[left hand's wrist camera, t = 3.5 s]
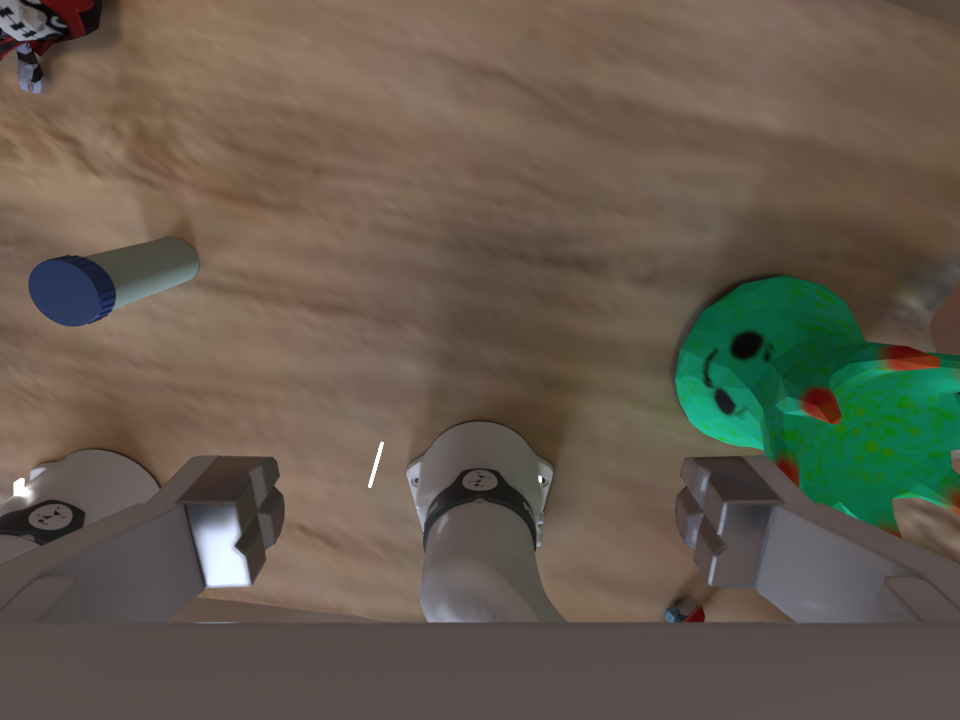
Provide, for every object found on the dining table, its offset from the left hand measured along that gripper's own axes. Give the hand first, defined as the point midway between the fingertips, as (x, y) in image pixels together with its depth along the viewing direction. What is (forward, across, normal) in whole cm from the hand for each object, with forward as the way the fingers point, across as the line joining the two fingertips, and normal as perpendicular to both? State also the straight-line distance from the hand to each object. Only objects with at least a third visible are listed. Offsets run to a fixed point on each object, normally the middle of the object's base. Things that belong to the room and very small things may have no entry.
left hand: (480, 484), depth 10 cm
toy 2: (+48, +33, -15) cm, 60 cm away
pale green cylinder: (+48, -34, -4) cm, 59 cm away
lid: (+32, -34, -4) cm, 46 cm away
